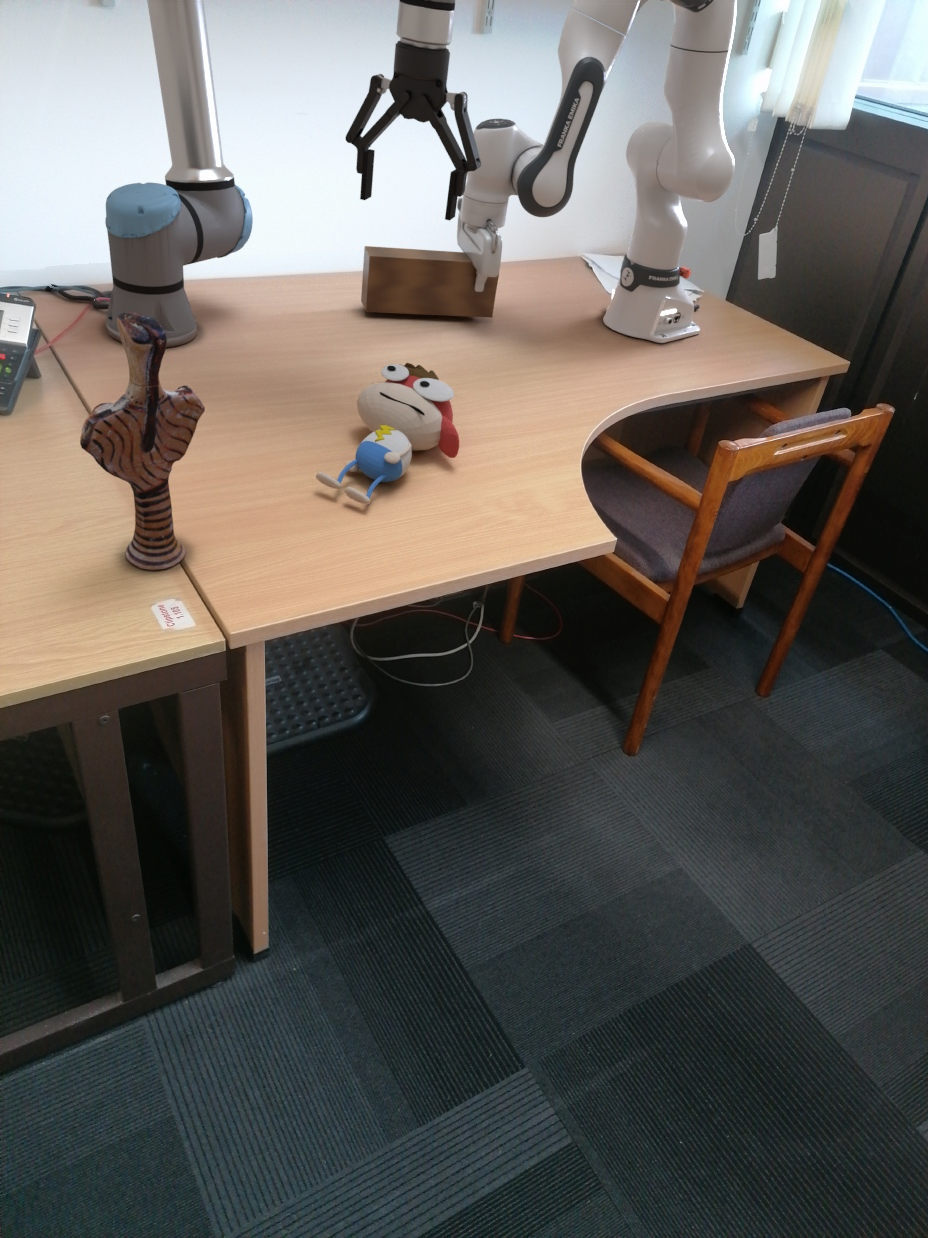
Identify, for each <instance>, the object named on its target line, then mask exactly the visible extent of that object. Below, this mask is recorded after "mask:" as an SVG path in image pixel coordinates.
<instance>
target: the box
mask: <svg viewBox="0 0 928 1238" xmlns="http://www.w3.org/2000/svg"><path fill="white" fill-rule="evenodd" d="M363 249H364V250H363V262H362V263H363V266H362V278H361V279H362V280H361V293H360V295H361V297H360V302H361V304H362V307H363V309H364V311H365V313H380V314H381V313H382V314H383V313H384V314H402V315H403V314H405V315H426V316H427V315H429V316H453V317H470V318H471V317H472V318H473V317H474V318H475V317H476V318H493V313H494V309H495V303H496V295H497V290H498V282H499V277H500V273H499V274H498V276H497V277H488V278H487V280H486V282H485V284H484V290H483V291H482V292H476V291H475V290H474V288H473V286H474V280H476V276H477V274H476V271H477V270H476V268H475V267H474V266H473V264H472V261H471V260H470V258H469V257H468V256H467V254H466V253H465V252H463V251H448V250H433V249H431V250H430V249H419V248H418V249H417V248H416V249H415V248H401V247H385V246H370V245H365V246H364V248H363Z"/></svg>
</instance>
